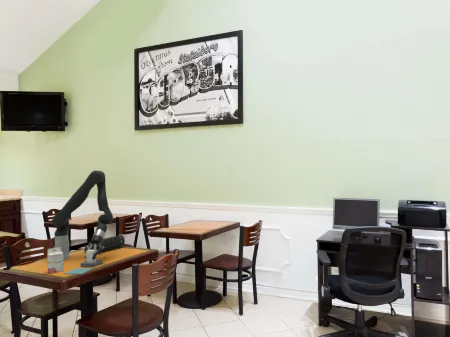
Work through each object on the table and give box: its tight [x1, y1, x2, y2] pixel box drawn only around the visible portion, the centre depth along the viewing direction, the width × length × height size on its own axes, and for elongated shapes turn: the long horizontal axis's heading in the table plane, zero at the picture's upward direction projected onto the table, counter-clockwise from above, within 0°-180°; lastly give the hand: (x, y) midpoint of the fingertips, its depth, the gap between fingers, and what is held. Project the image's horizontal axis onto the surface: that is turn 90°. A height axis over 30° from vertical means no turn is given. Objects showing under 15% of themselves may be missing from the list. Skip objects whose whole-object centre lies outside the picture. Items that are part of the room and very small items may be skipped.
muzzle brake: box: [88, 234, 126, 253], centre depth 292 cm, size 10×28×10 cm, turn 144°
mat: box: [63, 267, 93, 275], centre depth 232 cm, size 12×12×1 cm
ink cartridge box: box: [46, 247, 65, 274], centre depth 235 cm, size 9×5×15 cm, turn 129°
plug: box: [85, 250, 97, 263], centre depth 247 cm, size 4×4×10 cm
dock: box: [79, 259, 103, 268], centre depth 247 cm, size 10×10×2 cm
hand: (89, 259), depth 245 cm, fingers closed on plug, 4 cm apart
